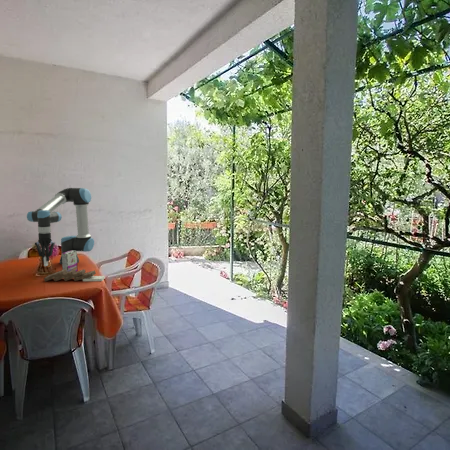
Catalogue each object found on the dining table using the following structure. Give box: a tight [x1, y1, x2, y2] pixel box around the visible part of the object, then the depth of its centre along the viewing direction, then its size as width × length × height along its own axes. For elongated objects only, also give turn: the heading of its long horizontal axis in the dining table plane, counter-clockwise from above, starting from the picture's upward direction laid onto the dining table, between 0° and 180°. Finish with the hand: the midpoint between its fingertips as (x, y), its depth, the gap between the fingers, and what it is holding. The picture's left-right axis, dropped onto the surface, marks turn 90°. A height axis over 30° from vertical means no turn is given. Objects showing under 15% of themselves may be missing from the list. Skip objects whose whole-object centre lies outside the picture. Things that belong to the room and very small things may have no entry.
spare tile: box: [82, 275, 105, 282], centre depth 225 cm, size 2×7×13 cm
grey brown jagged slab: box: [63, 268, 87, 282], centre depth 223 cm, size 2×7×13 cm
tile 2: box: [52, 269, 77, 282], centre depth 222 cm, size 2×7×13 cm
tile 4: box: [73, 270, 97, 282], centre depth 224 cm, size 2×7×13 cm
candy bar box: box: [61, 250, 79, 272], centre depth 240 cm, size 11×5×16 cm, turn 168°
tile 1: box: [43, 269, 67, 282], centre depth 221 cm, size 2×7×13 cm
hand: (46, 265), depth 220 cm, fingers closed
